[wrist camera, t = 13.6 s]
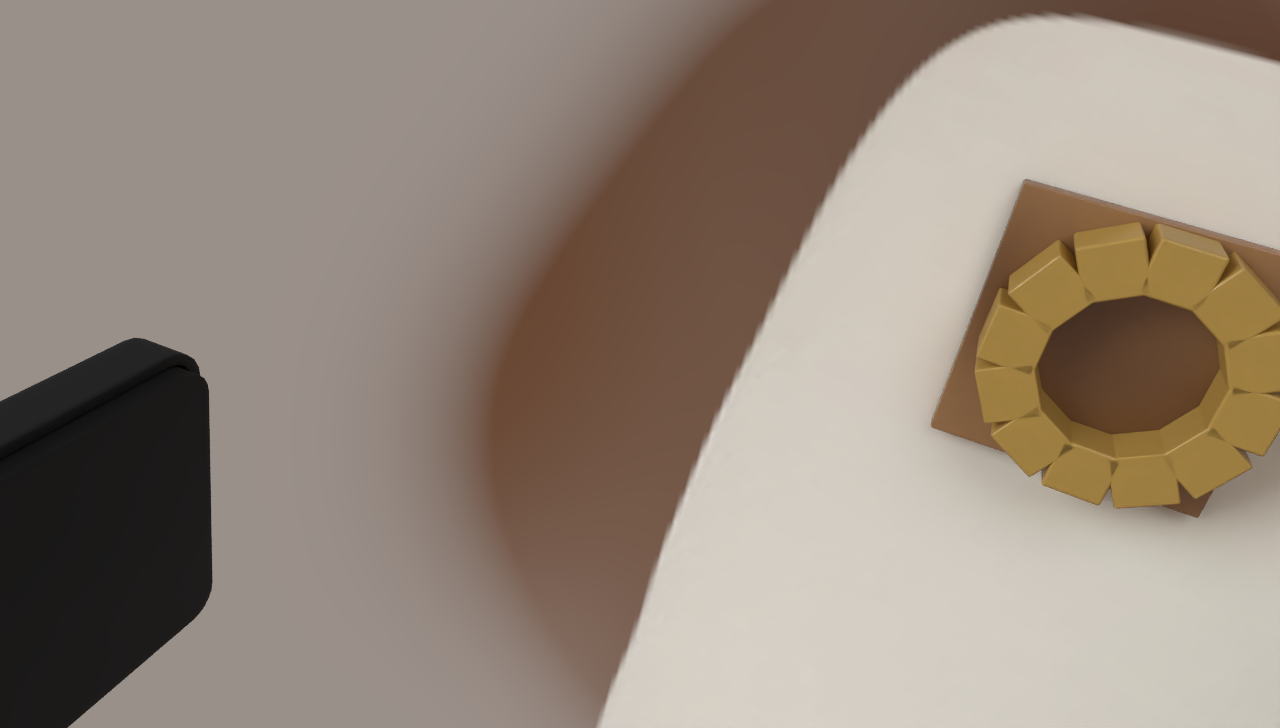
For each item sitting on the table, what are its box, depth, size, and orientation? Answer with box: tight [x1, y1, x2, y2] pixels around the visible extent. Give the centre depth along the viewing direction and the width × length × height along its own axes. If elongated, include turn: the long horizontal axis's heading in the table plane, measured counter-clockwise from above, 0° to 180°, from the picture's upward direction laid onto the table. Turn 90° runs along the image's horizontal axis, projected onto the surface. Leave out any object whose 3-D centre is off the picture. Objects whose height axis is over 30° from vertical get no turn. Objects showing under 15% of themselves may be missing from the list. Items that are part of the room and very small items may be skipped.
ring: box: [975, 222, 1280, 508], centre depth 28 cm, size 8×8×2 cm
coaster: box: [931, 179, 1280, 518], centre depth 29 cm, size 8×8×1 cm
